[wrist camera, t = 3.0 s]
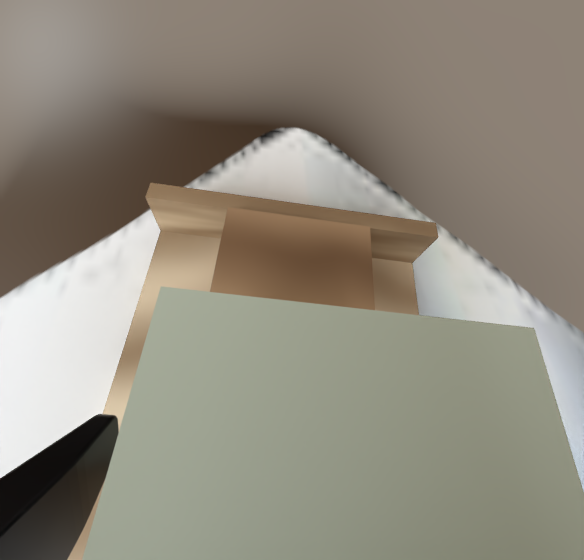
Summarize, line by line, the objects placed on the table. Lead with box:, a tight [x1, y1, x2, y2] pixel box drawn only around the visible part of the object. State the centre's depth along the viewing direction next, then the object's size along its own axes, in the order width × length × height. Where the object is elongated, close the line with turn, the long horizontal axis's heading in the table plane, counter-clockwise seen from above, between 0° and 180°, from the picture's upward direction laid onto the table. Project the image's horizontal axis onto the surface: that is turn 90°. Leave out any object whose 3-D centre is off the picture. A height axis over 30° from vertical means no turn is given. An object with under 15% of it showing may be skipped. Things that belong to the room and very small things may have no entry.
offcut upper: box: [210, 207, 375, 310], centre depth 15 cm, size 6×7×2 cm
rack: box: [67, 183, 438, 560], centre depth 15 cm, size 17×16×4 cm
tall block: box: [82, 286, 584, 560], centre depth 9 cm, size 3×6×12 cm, turn 86°
